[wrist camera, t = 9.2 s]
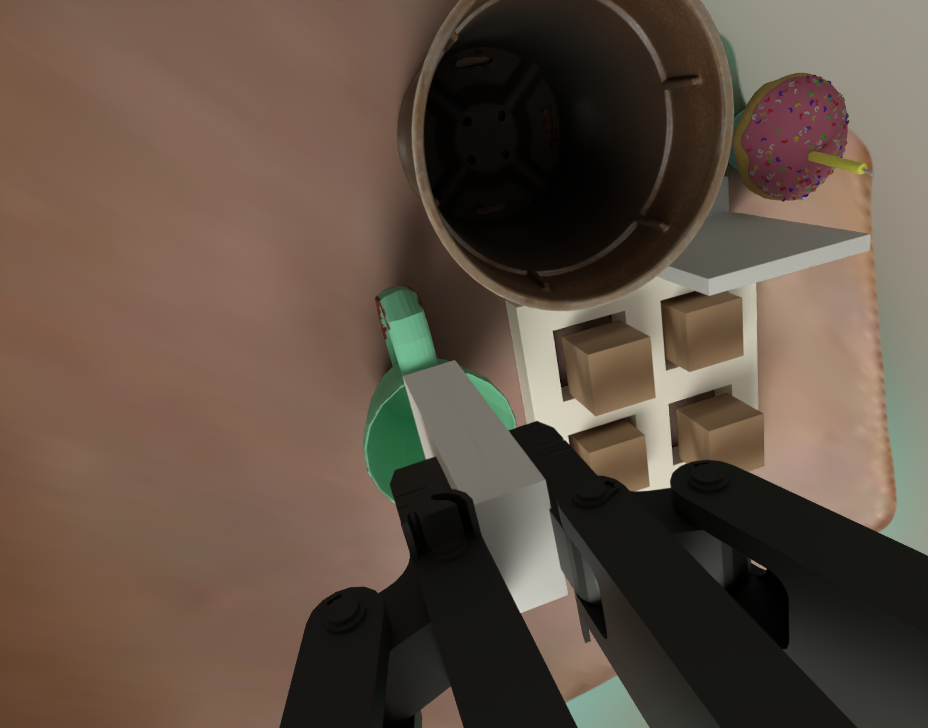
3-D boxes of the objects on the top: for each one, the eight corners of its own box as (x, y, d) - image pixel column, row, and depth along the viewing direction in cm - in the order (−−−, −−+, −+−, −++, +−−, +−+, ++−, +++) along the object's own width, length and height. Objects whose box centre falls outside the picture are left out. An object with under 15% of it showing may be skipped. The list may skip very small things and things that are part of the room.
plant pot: (612, 213, 48) (756, 244, 34) (416, 290, 46) (477, 360, 32) (559, -24, 42) (708, -113, 27) (329, 54, 40) (355, 3, 25)
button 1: (565, 428, 53) (588, 453, 49) (617, 412, 54) (644, 435, 50) (572, 477, 55) (595, 504, 51) (622, 460, 55) (649, 486, 51)
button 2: (561, 336, 48) (587, 355, 43) (619, 320, 48) (650, 336, 44) (569, 393, 49) (595, 416, 45) (625, 376, 50) (655, 397, 46)
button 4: (653, 299, 51) (685, 313, 47) (705, 285, 52) (742, 297, 48) (657, 354, 53) (689, 372, 49) (708, 339, 54) (743, 355, 50)
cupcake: (784, 195, 52) (919, 209, 41) (693, 196, 50) (809, 212, 39) (804, 80, 49) (954, 62, 38) (707, 76, 47) (837, 56, 36)
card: (593, 207, 48) (706, 232, 35) (721, 176, 50) (872, 188, 37) (599, 260, 49) (709, 302, 36) (723, 228, 51) (869, 256, 38)
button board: (505, 300, 48) (516, 307, 46) (734, 238, 52) (755, 242, 49) (542, 515, 56) (553, 531, 53) (740, 448, 59) (759, 461, 57)
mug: (487, 421, 51) (531, 482, 42) (371, 463, 50) (390, 535, 41) (441, 246, 46) (480, 273, 37) (308, 287, 44) (315, 325, 35)
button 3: (675, 408, 52) (709, 431, 48) (726, 392, 53) (763, 413, 49) (679, 458, 54) (711, 484, 50) (728, 441, 55) (764, 466, 51)
